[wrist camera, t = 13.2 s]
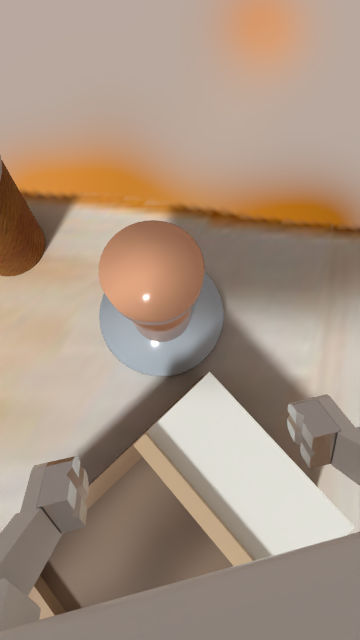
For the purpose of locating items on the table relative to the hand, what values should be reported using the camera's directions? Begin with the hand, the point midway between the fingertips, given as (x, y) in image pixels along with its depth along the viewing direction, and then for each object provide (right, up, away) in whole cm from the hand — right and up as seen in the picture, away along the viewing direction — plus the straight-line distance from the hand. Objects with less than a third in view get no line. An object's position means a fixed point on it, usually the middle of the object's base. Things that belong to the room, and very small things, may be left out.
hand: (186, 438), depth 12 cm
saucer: (-2, +5, +16) cm, 17 cm away
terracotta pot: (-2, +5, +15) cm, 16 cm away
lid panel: (+4, -6, +9) cm, 11 cm away
